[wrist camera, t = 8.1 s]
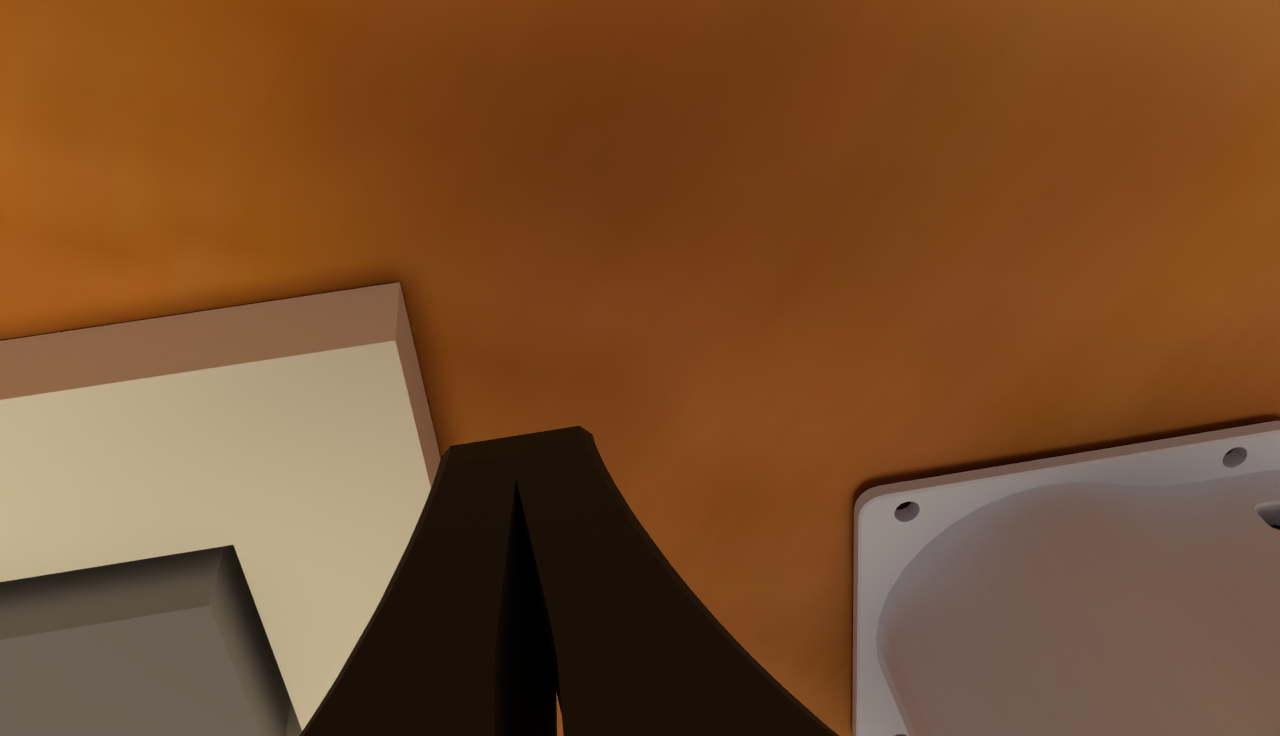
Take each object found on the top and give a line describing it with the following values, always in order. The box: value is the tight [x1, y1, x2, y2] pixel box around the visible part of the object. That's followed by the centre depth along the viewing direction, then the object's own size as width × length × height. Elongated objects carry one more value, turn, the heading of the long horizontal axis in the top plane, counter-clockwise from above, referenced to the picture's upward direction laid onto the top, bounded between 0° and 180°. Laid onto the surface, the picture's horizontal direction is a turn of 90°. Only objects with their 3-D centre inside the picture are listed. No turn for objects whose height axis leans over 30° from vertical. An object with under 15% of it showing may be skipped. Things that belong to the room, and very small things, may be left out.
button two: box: [0, 545, 291, 736], centre depth 21 cm, size 4×4×3 cm
